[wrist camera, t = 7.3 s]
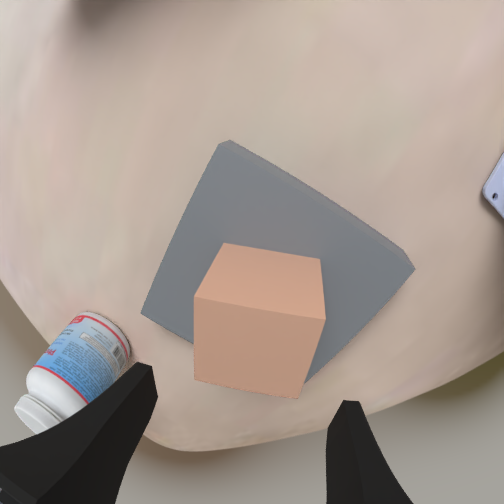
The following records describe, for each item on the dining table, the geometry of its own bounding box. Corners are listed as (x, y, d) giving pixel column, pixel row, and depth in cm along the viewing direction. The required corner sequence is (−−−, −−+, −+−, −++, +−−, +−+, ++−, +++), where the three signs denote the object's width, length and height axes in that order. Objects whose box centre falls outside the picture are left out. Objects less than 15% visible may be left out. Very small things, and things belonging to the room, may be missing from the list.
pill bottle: (78, 297, 23) (-2, 385, 13) (137, 333, 23) (70, 440, 13) (75, 339, 26) (13, 419, 15) (126, 370, 26) (74, 462, 16)
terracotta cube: (319, 258, 15) (325, 319, 11) (300, 332, 18) (297, 398, 13) (223, 242, 16) (193, 296, 11) (218, 318, 18) (194, 379, 14)
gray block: (400, 246, 17) (415, 269, 15) (296, 363, 23) (294, 392, 20) (232, 139, 16) (218, 143, 14) (157, 289, 22) (140, 313, 19)
